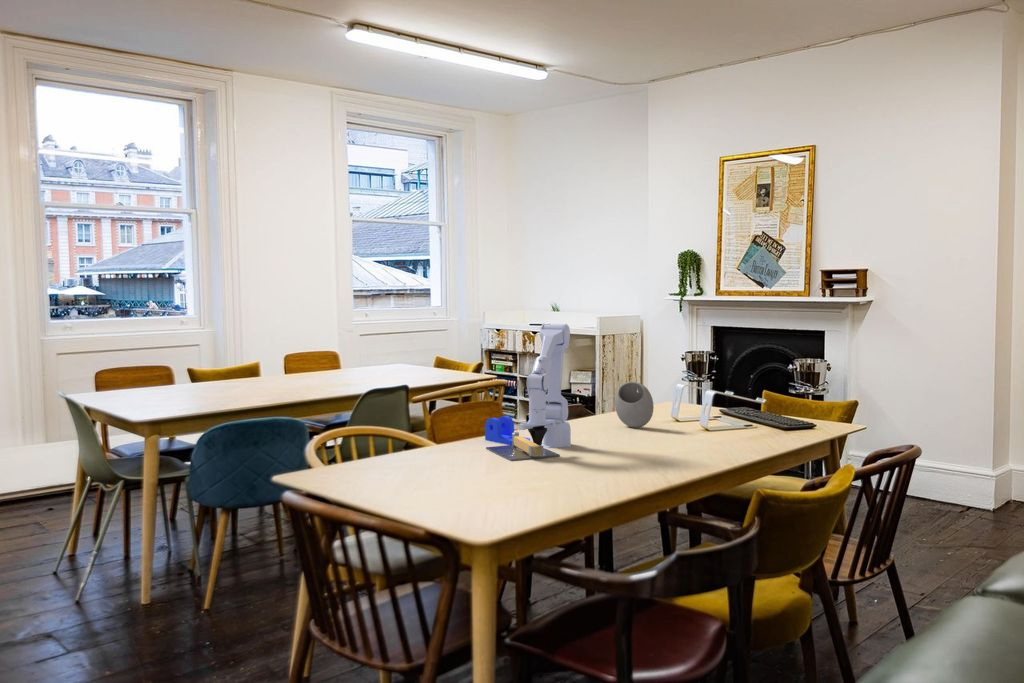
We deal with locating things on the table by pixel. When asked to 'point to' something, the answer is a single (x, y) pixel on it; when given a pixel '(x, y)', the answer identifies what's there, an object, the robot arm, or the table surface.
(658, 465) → the table surface
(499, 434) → the bracket
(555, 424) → the robot arm
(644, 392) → the planter
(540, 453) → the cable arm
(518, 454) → the panel
